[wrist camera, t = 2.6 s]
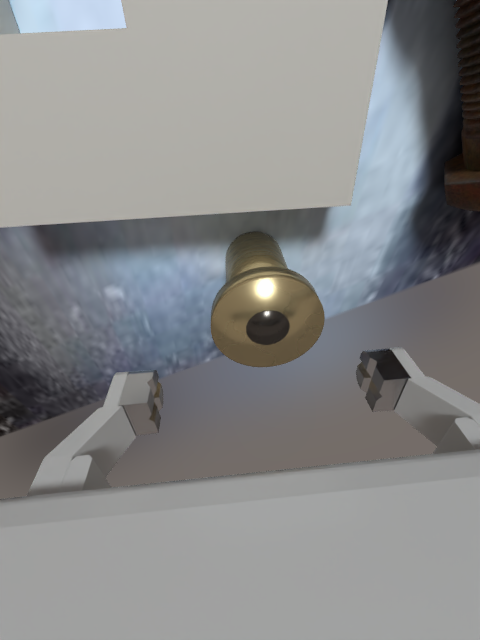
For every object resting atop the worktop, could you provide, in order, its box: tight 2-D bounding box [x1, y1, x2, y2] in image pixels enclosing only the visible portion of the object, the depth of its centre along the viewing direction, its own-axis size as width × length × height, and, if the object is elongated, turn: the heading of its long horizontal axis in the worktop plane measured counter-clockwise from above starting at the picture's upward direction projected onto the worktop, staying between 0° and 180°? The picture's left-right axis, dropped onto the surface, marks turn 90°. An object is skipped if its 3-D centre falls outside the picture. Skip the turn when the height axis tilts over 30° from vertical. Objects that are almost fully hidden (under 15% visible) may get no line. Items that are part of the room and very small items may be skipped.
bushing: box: [211, 232, 324, 367], centre depth 16 cm, size 5×5×7 cm
